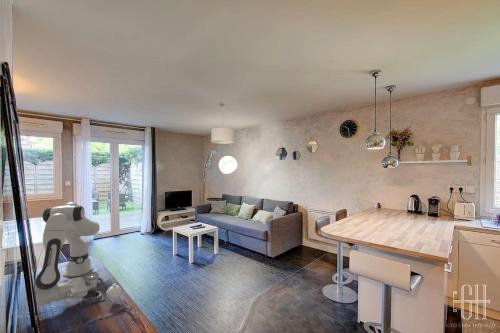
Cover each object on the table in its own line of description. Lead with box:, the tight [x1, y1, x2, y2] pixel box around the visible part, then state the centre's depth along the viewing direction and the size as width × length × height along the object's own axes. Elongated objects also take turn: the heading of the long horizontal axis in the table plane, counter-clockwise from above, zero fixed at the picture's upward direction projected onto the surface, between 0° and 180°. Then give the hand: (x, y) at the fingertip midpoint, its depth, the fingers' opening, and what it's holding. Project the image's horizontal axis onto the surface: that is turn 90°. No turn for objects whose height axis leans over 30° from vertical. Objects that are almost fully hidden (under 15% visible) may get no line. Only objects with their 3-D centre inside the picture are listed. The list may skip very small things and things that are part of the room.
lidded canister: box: [87, 274, 98, 295], centre depth 141 cm, size 5×5×10 cm
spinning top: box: [106, 283, 122, 304], centre depth 138 cm, size 8×8×12 cm
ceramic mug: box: [84, 271, 104, 286], centre depth 159 cm, size 11×8×8 cm
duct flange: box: [77, 290, 106, 309], centre depth 141 cm, size 12×12×3 cm
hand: (93, 282), depth 141 cm, fingers closed on lidded canister, 5 cm apart
